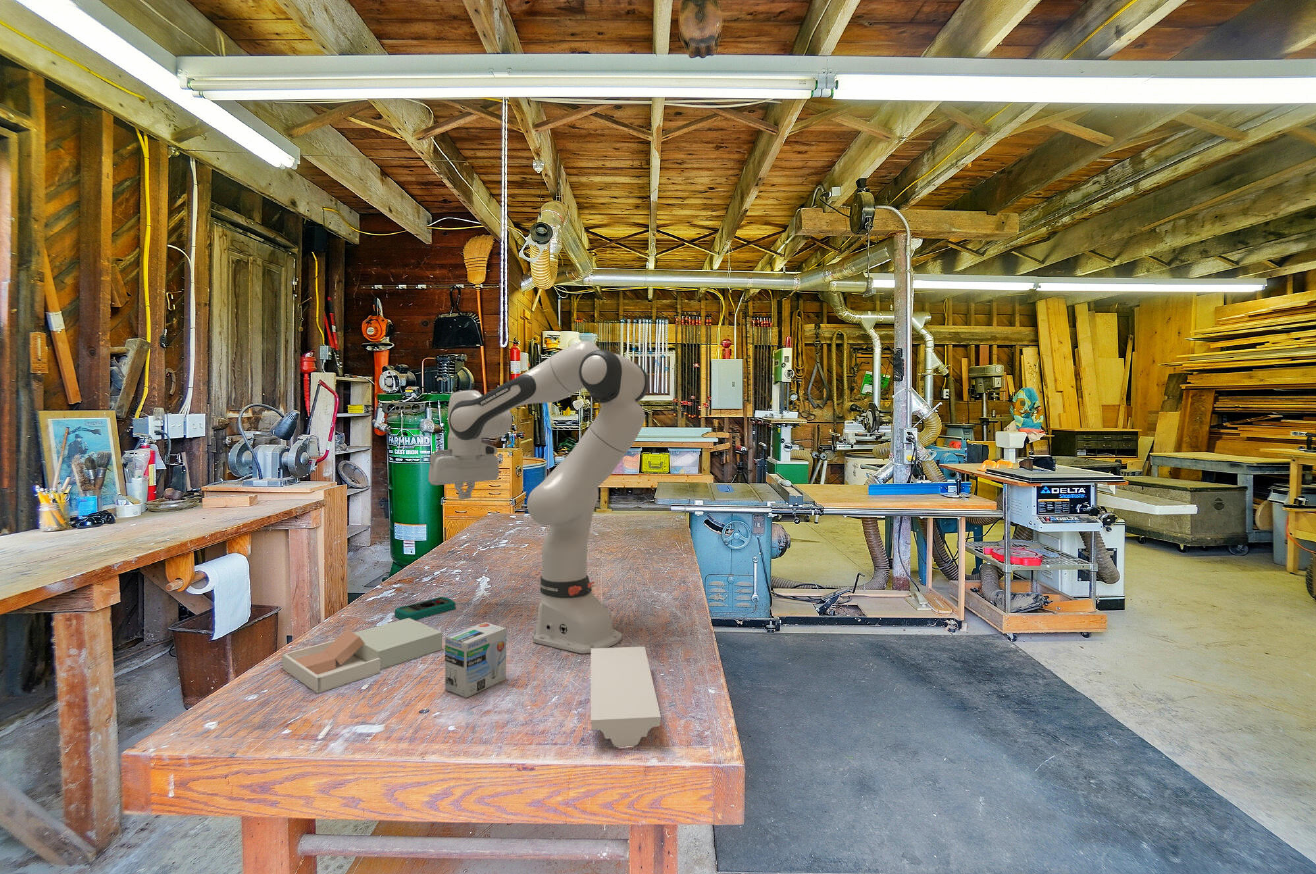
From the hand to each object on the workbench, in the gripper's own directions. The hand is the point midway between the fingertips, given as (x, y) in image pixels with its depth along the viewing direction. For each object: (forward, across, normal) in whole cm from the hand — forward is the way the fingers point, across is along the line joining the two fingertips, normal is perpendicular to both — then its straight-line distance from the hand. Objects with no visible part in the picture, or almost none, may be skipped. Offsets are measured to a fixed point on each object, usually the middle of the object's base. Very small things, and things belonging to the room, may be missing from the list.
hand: (464, 498), depth 165 cm
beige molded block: (+32, -12, -70) cm, 78 cm away
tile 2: (+29, -37, -11) cm, 48 cm away
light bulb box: (+31, -25, -42) cm, 58 cm away
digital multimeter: (+32, -8, +6) cm, 33 cm away
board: (+31, -27, -13) cm, 43 cm away
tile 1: (+28, -43, -11) cm, 53 cm away
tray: (+31, -41, -13) cm, 53 cm away
